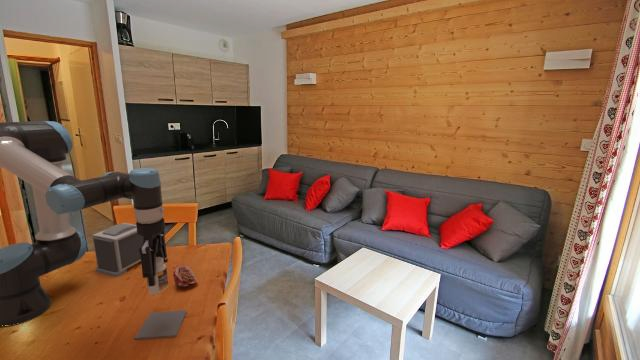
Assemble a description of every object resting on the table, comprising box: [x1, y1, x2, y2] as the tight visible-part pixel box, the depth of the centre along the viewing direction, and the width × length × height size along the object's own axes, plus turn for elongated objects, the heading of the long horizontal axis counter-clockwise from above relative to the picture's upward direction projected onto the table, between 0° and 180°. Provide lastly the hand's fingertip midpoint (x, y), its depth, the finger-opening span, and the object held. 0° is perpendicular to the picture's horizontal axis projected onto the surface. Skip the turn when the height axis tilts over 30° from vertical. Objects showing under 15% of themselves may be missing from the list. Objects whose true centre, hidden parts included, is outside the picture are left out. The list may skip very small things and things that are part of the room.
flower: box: [172, 264, 198, 289], centre depth 122 cm, size 10×9×8 cm
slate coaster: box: [134, 309, 188, 341], centre depth 100 cm, size 12×12×1 cm
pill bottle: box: [146, 257, 169, 293], centre depth 96 cm, size 6×6×10 cm
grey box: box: [92, 222, 144, 278], centre depth 136 cm, size 18×13×18 cm
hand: (158, 287), depth 97 cm, fingers closed on pill bottle, 6 cm apart
